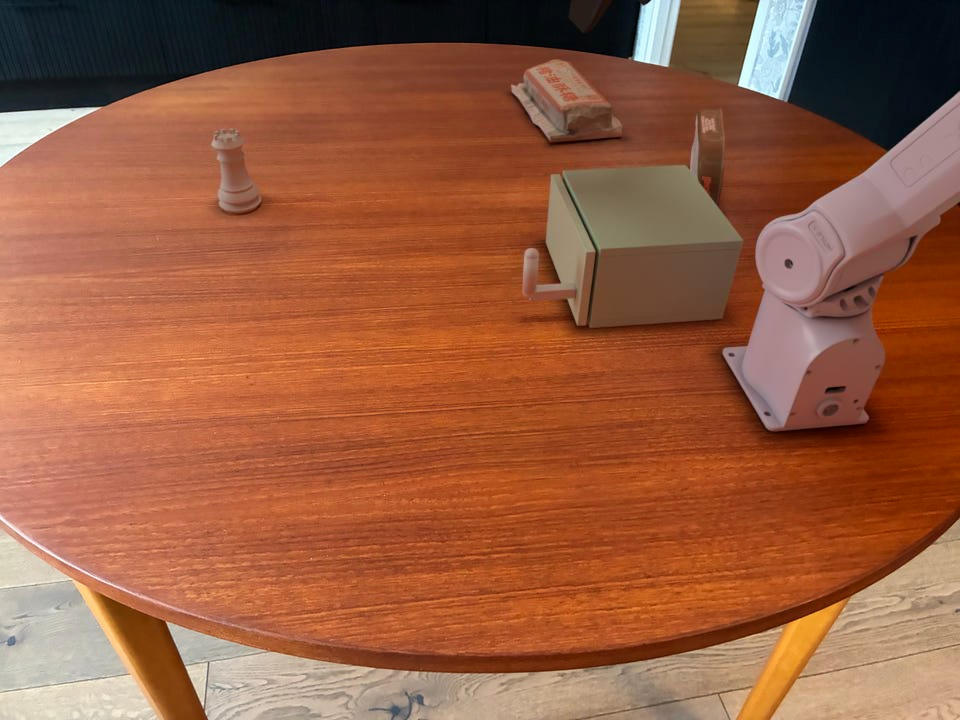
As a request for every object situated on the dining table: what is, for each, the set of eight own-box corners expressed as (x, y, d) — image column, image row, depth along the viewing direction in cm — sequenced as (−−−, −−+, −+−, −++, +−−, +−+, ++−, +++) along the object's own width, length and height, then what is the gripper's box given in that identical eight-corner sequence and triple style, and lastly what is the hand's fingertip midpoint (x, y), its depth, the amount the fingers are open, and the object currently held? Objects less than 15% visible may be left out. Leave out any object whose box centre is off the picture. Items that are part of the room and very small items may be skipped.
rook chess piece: (210, 208, 81) (193, 136, 75) (239, 191, 84) (224, 121, 78) (242, 219, 79) (227, 146, 74) (271, 201, 82) (258, 129, 77)
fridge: (589, 328, 65) (600, 248, 60) (555, 244, 76) (562, 170, 71) (722, 319, 67) (744, 240, 62) (671, 237, 77) (685, 164, 72)
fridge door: (524, 329, 65) (529, 255, 60) (499, 245, 75) (502, 176, 70) (586, 325, 65) (596, 251, 61) (553, 242, 76) (559, 173, 71)
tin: (715, 230, 79) (733, 154, 73) (684, 227, 79) (700, 150, 74) (710, 167, 90) (726, 97, 85) (683, 164, 90) (697, 94, 85)
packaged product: (629, 101, 93) (552, 107, 91) (624, 138, 96) (549, 146, 94) (579, 53, 106) (511, 58, 104) (576, 87, 109) (509, 93, 107)
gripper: (712, -205, 56) (632, -45, 68) (582, -167, 50) (518, 3, 62) (779, -143, 55) (685, 9, 67) (654, -95, 49) (575, 63, 60)
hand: (609, 10), depth 64 cm, fingers open, 7 cm apart
